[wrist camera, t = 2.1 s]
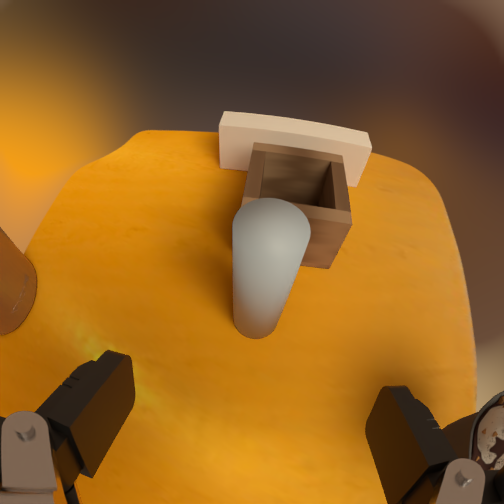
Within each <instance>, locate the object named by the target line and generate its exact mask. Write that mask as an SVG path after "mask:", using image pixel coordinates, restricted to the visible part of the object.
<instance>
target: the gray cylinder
mask: <svg viewBox="0 0 504 504" xmlns="http://www.w3.org/2000/svg"><path fill="white" fill-rule="evenodd" d="M310 234H311V230H310V224H309V222H308V219H307V218H306V216H305V215H304V213H303V212H302V211H301V210H300V209H299V208H297V207H296V206H295V205H293V204H291V203H289V202H287V201H284V200H281V199H276V198H260V199H256V200H253V201H251V202H248V203H247V204H245V205H244V206H242V207H241V208H240V209H239V210H238V212H237V213H236V215H235V217H234V220H233V225H232V246H233V319H234V324H235V327H236V328H237V330H238V331H239V332H240V333H241V334H242V335H244V336H246V337H248V338H252V339H260V338H264V337H266V336H268V335H270V334H271V333H272V332H273V331H274V329H275V328H276V326H277V323H278V321H279V318H280V316H281V313H282V311H283V308H284V306H285V303H286V300H287V298H288V295H289V293H290V290H291V288H292V285H293V282H294V280H295V277H296V275H297V272H298V269H299V267H300V264H301V261H302V258H303V256H304V253H305V250H306V248H307V245H308V242H309V239H310Z"/></svg>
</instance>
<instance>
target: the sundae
mask: <svg viewBox="0 0 504 504" xmlns="http://www.w3.org/2000/svg"><path fill="white" fill-rule="evenodd" d="M442 431H443V433H444V435H445V436H446V438H447V439H448V441H449V443H450V445H451V446H452V448H453V450H454V451H455V453H456V455H457V456H458V458H459V459H461V458H465V459H470V460H473V461H475V462H476V463H478V464H479V465H480V466H481V468H482V469H483V471H484V470H500V469H501V468H502V467H503V465H504V391H503V392H501V393H499V394H497V395H495V396H494V397H493V398H492V399H491V400H490V401H488V402H487V403H486V404H485V405H484V406H483V407H482V408H481V410H480V411H479V412H477V413H474V414H472V415H469V416H466V417H464V418H461V419H459V420H457V421H455V422H453V423H451V424H449V425H447V426H446V427H445V428H443V429H442Z"/></svg>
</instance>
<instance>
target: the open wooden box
mask: <svg viewBox="0 0 504 504" xmlns="http://www.w3.org/2000/svg"><path fill="white" fill-rule="evenodd" d="M260 198H276V199H281V200H284V201H287V202H289V203H291V204H293V205H295V206H296V207H297V208H299V209H300V210H301V211H302V212H303V213H304V215H305V216H306V218H307V219H308V222H309V224H310V230H311V234H310V239H309V242H308V245H307V248H306V250H305V253H304V256H303V258H302V261H301V264H300V265H302V266H310V267H318V268H326V269H329V268H330V266H331V264H332V262H333V260H334V258H335V257H336V255H337V253H338V251H339V249H340V247H341V245H342V243H343V241H344V239H345V237H346V235H347V234H348V232H349V230H350V228H351V226H352V218H351V210H350V202H349V195H348V188H347V181H346V174H345V168H344V162H343V156H342V155H338V154H332V153H327V152H321V151H315V150H309V149H303V148H296V147H289V146H282V145H274V144H266V143H258V142H254V143H253V148H252V153H251V158H250V163H249V168H248V173H247V179H246V184H245V189H244V194H243V199H242V204H241V207H242V206H244V205H245V204H247V203H248V202H251V201H253V200H256V199H260Z"/></svg>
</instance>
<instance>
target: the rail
mask: <svg viewBox="0 0 504 504" xmlns="http://www.w3.org/2000/svg"><path fill="white" fill-rule="evenodd" d="M254 142H258V143H266V144H274V145H282V146H289V147H296V148H303V149H309V150H315V151H321V152H327V153H332V154H338V155H342V156H343V162H344V168H345V174H346V181H347V186H351V187H357V184H358V182H359V179H360V177H361V175H362V172H363V170H364V167H365V165H366V162H367V160H368V157H369V155H370V152H371V150H372V146H371V143H370V140H369V136H368V134H367V133H366V132H361V131H357V130H352V129H348V128H343V127H339V126H334V125H328V124H323V123H317V122H312V121H305V120H299V119H292V118H285V117H278V116H270V115H261V114H251V113H240V112H227V111H225V112H224V114H223V117H222V119H221V122H220V125H219V147H220V168H223V169H233V170H242V171H248V168H249V163H250V158H251V153H252V148H253V143H254Z"/></svg>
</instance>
